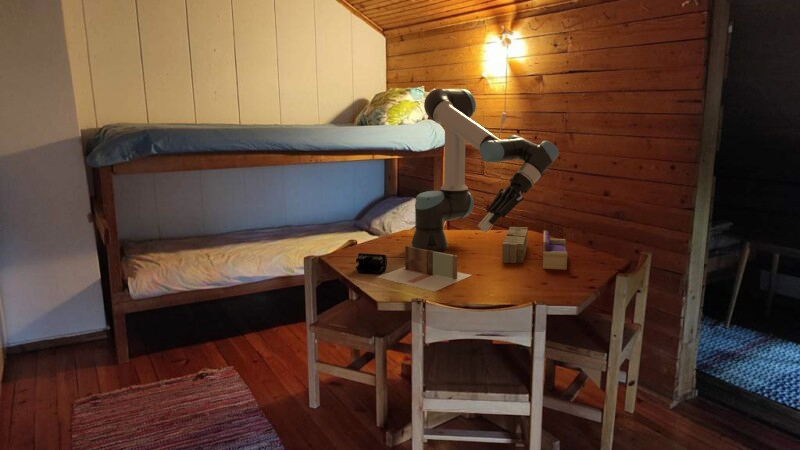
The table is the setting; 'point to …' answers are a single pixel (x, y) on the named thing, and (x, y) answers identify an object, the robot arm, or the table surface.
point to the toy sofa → (554, 253)
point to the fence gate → (445, 265)
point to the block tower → (515, 245)
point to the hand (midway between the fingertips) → (481, 228)
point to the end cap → (371, 263)
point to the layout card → (421, 279)
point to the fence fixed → (419, 260)
